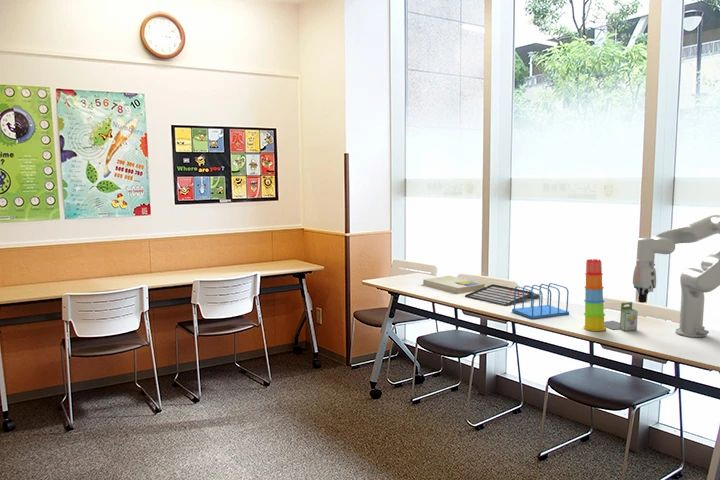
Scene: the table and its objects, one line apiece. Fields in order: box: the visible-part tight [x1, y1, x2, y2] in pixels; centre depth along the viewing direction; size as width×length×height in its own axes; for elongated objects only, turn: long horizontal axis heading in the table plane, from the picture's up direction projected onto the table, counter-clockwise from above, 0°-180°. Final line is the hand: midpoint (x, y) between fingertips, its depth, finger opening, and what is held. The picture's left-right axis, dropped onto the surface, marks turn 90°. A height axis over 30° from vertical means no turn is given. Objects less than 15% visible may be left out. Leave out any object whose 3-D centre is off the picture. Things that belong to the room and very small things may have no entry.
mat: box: [604, 320, 621, 331], centre depth 290 cm, size 13×12×1 cm
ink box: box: [619, 301, 639, 332], centre depth 281 cm, size 7×4×13 cm, turn 105°
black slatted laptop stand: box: [464, 283, 539, 307], centre depth 355 cm, size 32×7×31 cm
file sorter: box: [511, 282, 570, 320], centre depth 315 cm, size 25×17×15 cm
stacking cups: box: [582, 258, 607, 332], centre depth 282 cm, size 10×10×35 cm
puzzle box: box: [422, 275, 486, 295], centre depth 388 cm, size 36×5×24 cm
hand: (642, 302), depth 272 cm, fingers closed
